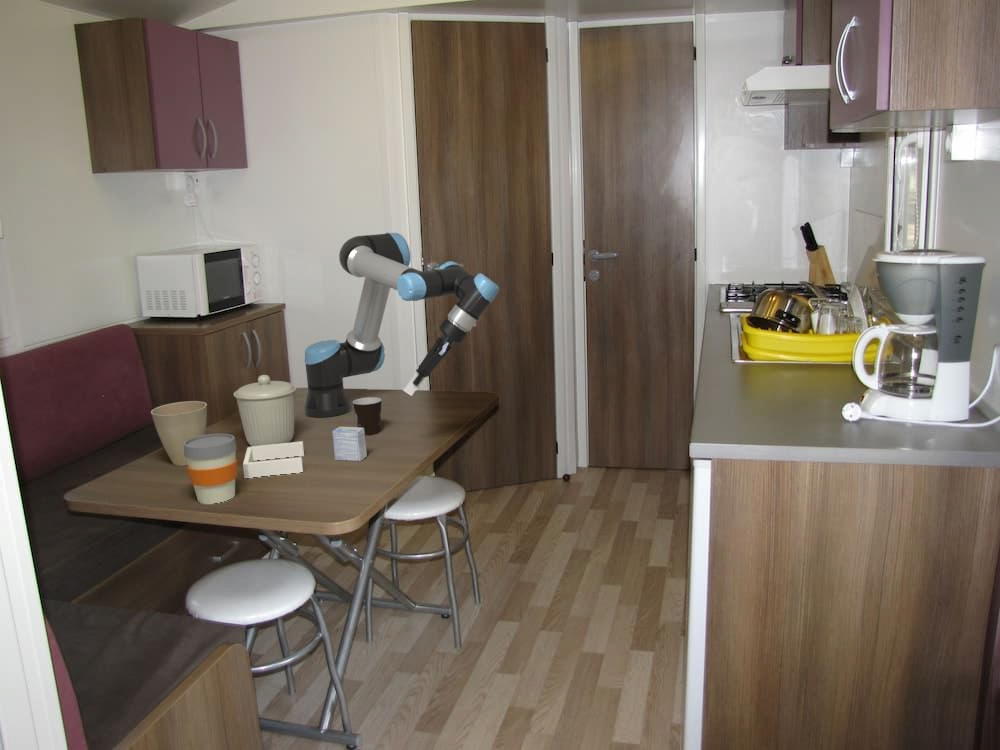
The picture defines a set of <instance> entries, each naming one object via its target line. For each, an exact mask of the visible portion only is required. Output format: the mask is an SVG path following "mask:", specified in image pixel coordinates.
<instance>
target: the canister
mask: <svg viewBox="0 0 1000 750" xmlns="http://www.w3.org/2000/svg"><path fill="white" fill-rule="evenodd" d="M257 381H258V382H252V383H249V384H245V385H243V386H240V387H239V388H238V389H237V390H236V391H234V392H233V397H234V398H236V401H237V402H236V403H237V407H238V412H239V415H240V419H241V420H240V421H241V423H242V427H243V432H244V436H245V438H246V439H245V440H246V442H247V443H248V444H249V445H250V447H251V446H261V445H271V444H281V443H291V441H292V440H293V437H294V434H295V400H296V398H295V397H296V396H295V395H296V393H295V392H296V391H297V386H296V385H295V384H293V383H290V382H287V381H282V380H271V377H270V376H269V375H267V374H262V375H259V376H258V378H257Z"/></svg>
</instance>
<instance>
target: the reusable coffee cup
mask: <svg viewBox="0 0 1000 750" xmlns="http://www.w3.org/2000/svg"><path fill="white" fill-rule="evenodd" d="M237 449H238V447H237V443H236V438H235V436H234V435H233V434H228V433H221V432H220V433H210V434H209V433H208V434H205V435H202V436H197V437H194V438H191V439H189V440H187V441H185V443H184V456H185V457H186V459H187V463H188V464H187V465H186V469H187V472H188V476H189V480H190V483H191V485H193V487H194V492H195V495H196V498H197V502H198V503H199V502H200V503H199V504H202V503H203V505H215V504H214V503H218V504H221V503H220V502H223V503H225V502H224V501H226V502H228V501H227V500H229V499H231V498H233V497H234V496H235V497H236V478H237V476H238V458H237V457H236V451H237ZM235 497H234V498H235ZM234 498H233V499H234ZM231 500H232V499H231ZM229 501H230V500H229Z"/></svg>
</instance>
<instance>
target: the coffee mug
mask: <svg viewBox="0 0 1000 750" xmlns="http://www.w3.org/2000/svg"><path fill="white" fill-rule="evenodd" d="M352 404H353V410H354V415H355V418H356V419H355V420H356V424H357V427H359V428H364V432H365V436H366V435H367V436H374V434H375V435H378V434H380V433H381V422H382V421H381V420H382V416H381V415H382V399H381V398H380V397H376V396H375V397H374V396H373V397H372V396H371V397H370V396H368V397H361V398H357V399H354V400H353V401H352ZM379 432H380V433H379Z"/></svg>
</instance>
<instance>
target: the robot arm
mask: <svg viewBox="0 0 1000 750" xmlns="http://www.w3.org/2000/svg"><path fill="white" fill-rule="evenodd" d="M338 258H339V259H338V260H339V264H340V266H341V267H342V269H343V270H344V271H345V272H346V273H348V274H349V275H351V276H354V277H356V278H364V281H363V285H362V290H361V294H360V298H359V302H358V307H357V310H356V311H357V312H356V315H355V316H356V317H355V320H354V323H353V324H354V325H353V328H352V329H351V330H350V331H349V332H348V333H347V334H346V339H345V342H340V341H339V340H336V339H328V340H321V341H317V342H315V343H314V342H313V343H312V344H310V345H308V346H307V347H306V348H305V351H304V363H305V372H306V374H305V375H306V382H307V389H308V390H307V395H306V399H305V404H304V414H305V416H308V417H312V418H330V417H336V415H337V416H341V415H344V414H347V413H349V412H351V407H352V406H351V402H350V399H349V398H348V395H347V393H346V390H345V387H344V378H348V377H353V376H354V377H355V376H360V375H366V374H370V373H373V372H376V371H378V370H379V369H380V368H381V367H382V366H383V364H384V362H385V357H386V356H385V355H386V354H385V347H384V343H383V342H382V340H381V338H380V337H379V336H380V335H379V334H380V330H381V326H382V323H383V319H384V316H385V315H384V314H385V310H386V307H387V302H388V299H389V295H390V291H391V289H393V290H395V291H397V294H398V295H399V296H400V297H401V299H402V300H403V301H406V302H418V301H422V300H427V299H434V298H439V297H445V296H452V295H453V296H455V297H457V298H458V300H457V302H456V304H454V306H453V307H452V309H451V310H450V311H449V313H448V314H447V318H444V320H443V321H442V323H441V324H440V325H439V327H438V328H439V331H440V332H442V333H443V334H442V336H440V337H439V336H438V337H437V339H435V342H434V343H433V345H432V346H431V348H430V349H429V350H428V352H427V354H426V355H425V357H424V358H423V360H422V361H421V363H420V364H419V365H418V368H416V370H415V373H414V375H413V376H412V377H411V379H410V380H409V381H408V382H407V384H406V385H405V386H404V387H403V389H402V390H403V392H405V393H406V394H408V395H409V396H410V397H412V396H413V395H414V393H415V392H416V391H417V389H418V388H419V387H420V386H421V384H422V382H424V380H425V378H428V377H429V376H430V374H431V373H432V372H433V371H434V370H435V369H436V367H437V365H438V364H440V362H441V361H442V359H444V358H445V356H446V355H447V354H448V352H449V351H450V350H451V348H452V346H451V345H452V344H453V342H455V343H457V344H461V343H462V342H463V341H464V340H465V338H466V337H467V336H468V333H467V332H470V331H471V330H472V329H473V327H475V328H476V327H477V322H478V320H479V319H480V318H481V317H482V315H483V314H484V312H485V311H486V310H487V308H489V306H490V305H491V304H492V303H493V302H494V299H495V298H496V296H497V295H498V293H499V291H500V287H499V285H498V284H497V283H495V282H494V281H493V280H492V279H490V278H489V277H487V276H486V275H485V274H483V273H477V275H476V276H475V275H473V274H472V273H471V272H470V271H469V270H467V269H466V268H465V266H462V265H460V264H459V263H457V262H455V261H453V260H451V261H450V260H449V261H446V262H445V263H443V264H441V265H440V266H439V267H438V269H433V270H425V271H423V270H418V269H415V268H414V267H412V266H410V263H411V250H410V246H409V244H408V242H407V240H406V239H405V237H404V236H403V235H402V234H400V233H399V232H398V233H397V232H385V233H379V234H366V235H356V236H353V237H351V238H349V239H347V240H346V241H345V242H344V243H343V244H342V246H341V247H340V250H339V254H338Z"/></svg>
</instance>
